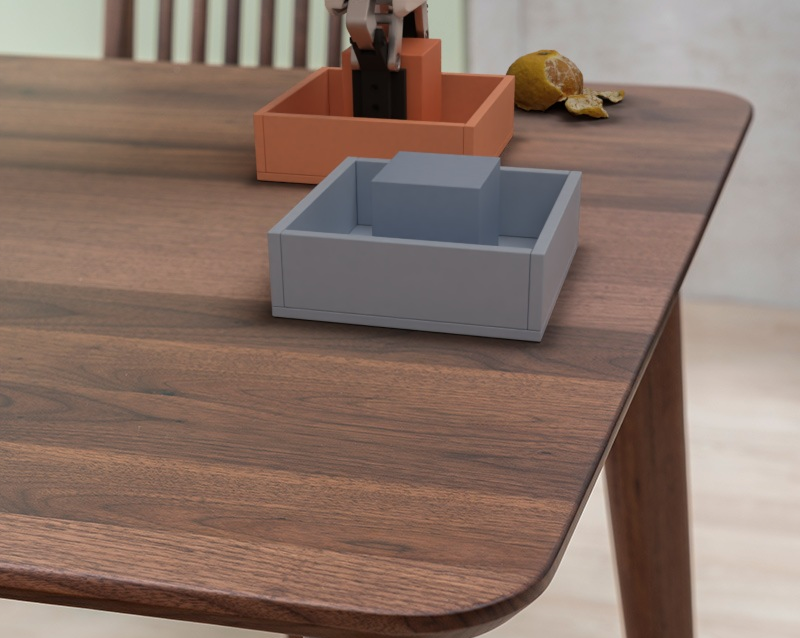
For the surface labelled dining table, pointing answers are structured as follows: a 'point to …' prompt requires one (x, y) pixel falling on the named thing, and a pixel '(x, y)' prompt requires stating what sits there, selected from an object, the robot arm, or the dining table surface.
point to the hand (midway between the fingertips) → (392, 119)
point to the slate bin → (426, 259)
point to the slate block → (437, 198)
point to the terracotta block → (409, 78)
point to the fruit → (555, 85)
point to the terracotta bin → (376, 126)
